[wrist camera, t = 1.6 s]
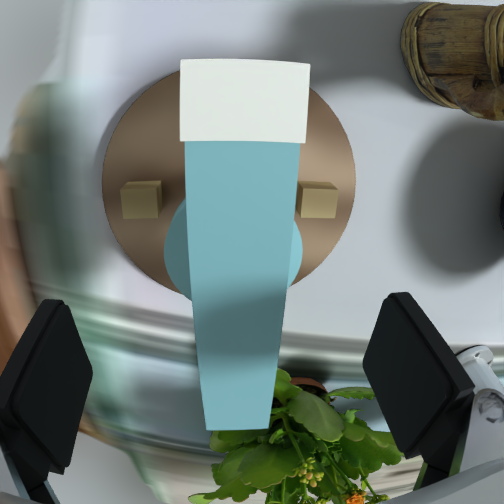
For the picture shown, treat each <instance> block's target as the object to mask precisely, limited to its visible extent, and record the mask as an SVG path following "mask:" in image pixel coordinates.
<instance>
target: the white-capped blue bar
mask: <svg viewBox="0 0 504 504" xmlns="http://www.w3.org/2000/svg"><path fill="white" fill-rule="evenodd" d="M309 80H310V64H305V63H296V62H285V61H271V60H253V59H185V60H181V64H180V141H185V184H186V197H185V199H184V200H183V201H182V202H181V203H180V205H179V206H178V208H177V210H176V211H175V214H174V216H173V218H172V221H171V224H170V227H169V229H168V232H167V235H166V239H165V244H164V261H165V266H166V269H167V272H168V274H169V276H170V278H171V280H172V282H173V283H174V285H175V286H176V288H177V289H178V290H179V291H180V292H181V293H182V294H183V295H184V296H185V297H187V298H188V299H189V300H191V301H192V307H193V318H194V329H195V339H196V349H197V358H198V368H199V376H200V385H201V393H202V401H203V408H204V416H205V423H206V430H246V429H265V428H268V426H269V420H270V413H271V407H272V400H273V393H274V386H275V379H276V371H277V364H278V356H279V349H280V341H281V333H282V325H283V317H284V309H285V300H286V291H287V288H288V287H289V286H290V285H291V284H292V282H293V281H294V279H295V277H296V275H297V273H298V271H299V268H300V265H301V261H302V252H303V247H302V239H301V235H300V232H299V230H298V227H297V225H296V223H295V221H294V214H295V203H296V192H297V180H298V168H299V155H300V143H305V141H306V128H307V113H308V97H309Z"/></svg>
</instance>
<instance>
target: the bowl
mask: <svg viewBox="0 0 504 504" xmlns="http://www.w3.org/2000/svg"><path fill="white" fill-rule="evenodd" d="M500 218H501V224H502V227H503V229H504V193H503V196H502V201H501V206H500Z"/></svg>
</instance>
